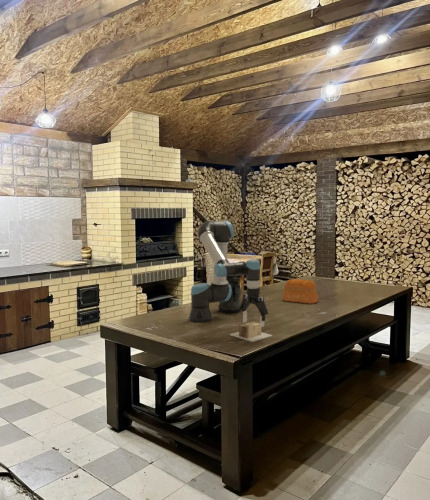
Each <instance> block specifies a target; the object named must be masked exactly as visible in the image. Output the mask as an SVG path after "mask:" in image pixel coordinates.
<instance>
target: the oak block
mask: <svg viewBox="0 0 430 500" xmlns="http://www.w3.org/2000/svg"><path fill="white" fill-rule="evenodd" d="M238 332H239V336H240V337H244V338H249V337H253V336H256V335H260V334H261V332H262V327H260V322H256V321H251V322H248V323H247V322H246V323H245V324H244V323H242V324H240V325H239V326H238Z"/></svg>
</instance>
